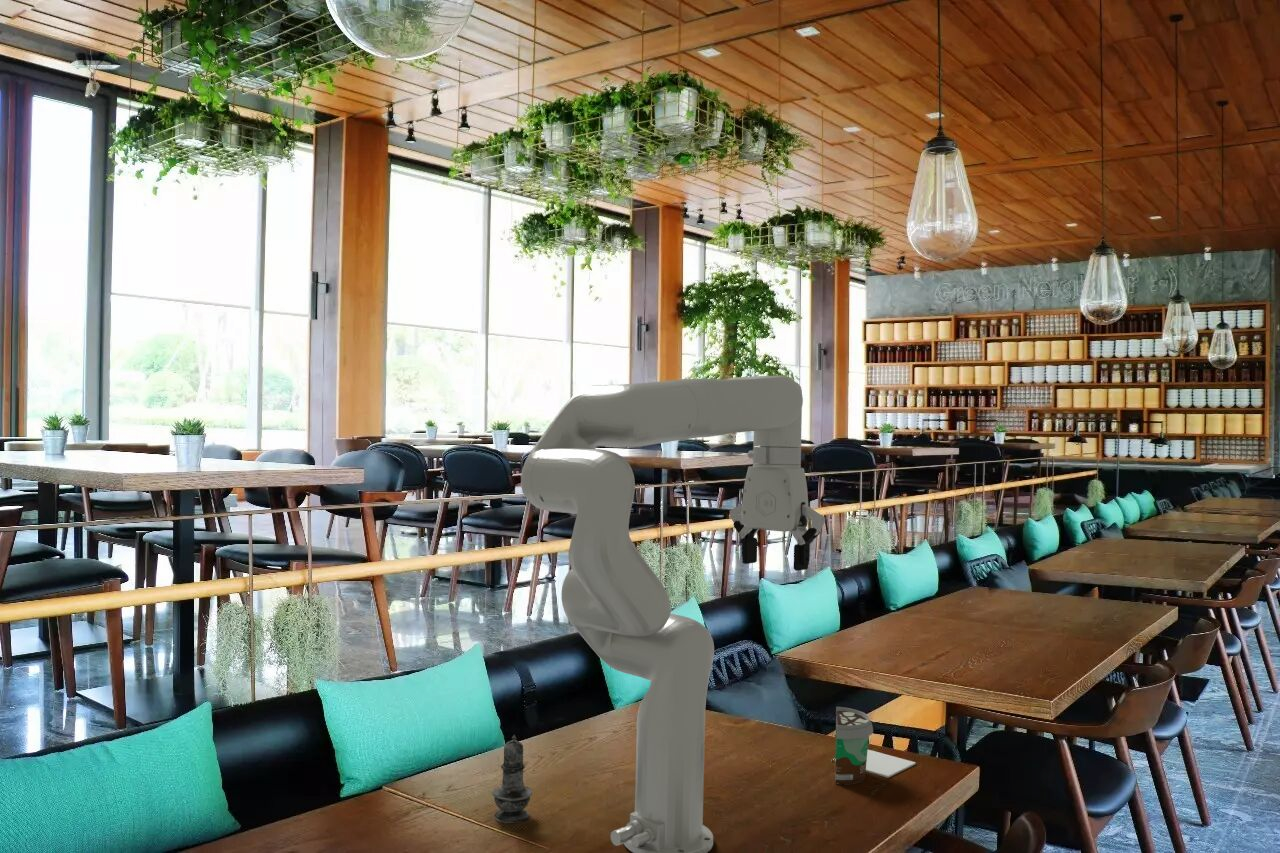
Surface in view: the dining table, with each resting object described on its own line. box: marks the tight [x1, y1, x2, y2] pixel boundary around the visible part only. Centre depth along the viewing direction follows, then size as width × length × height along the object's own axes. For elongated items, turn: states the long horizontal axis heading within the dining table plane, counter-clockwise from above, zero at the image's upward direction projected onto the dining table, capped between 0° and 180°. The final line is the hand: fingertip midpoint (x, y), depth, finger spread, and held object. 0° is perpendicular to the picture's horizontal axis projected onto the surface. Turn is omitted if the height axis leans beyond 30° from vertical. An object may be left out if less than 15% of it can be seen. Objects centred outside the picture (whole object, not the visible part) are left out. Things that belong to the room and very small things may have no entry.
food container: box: [834, 706, 874, 785], centre depth 160 cm, size 12×6×10 cm, turn 168°
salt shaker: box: [492, 734, 533, 824], centre depth 139 cm, size 6×6×12 cm
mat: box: [832, 749, 917, 779], centre depth 166 cm, size 10×11×1 cm
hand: (774, 566), depth 149 cm, fingers open, 9 cm apart
